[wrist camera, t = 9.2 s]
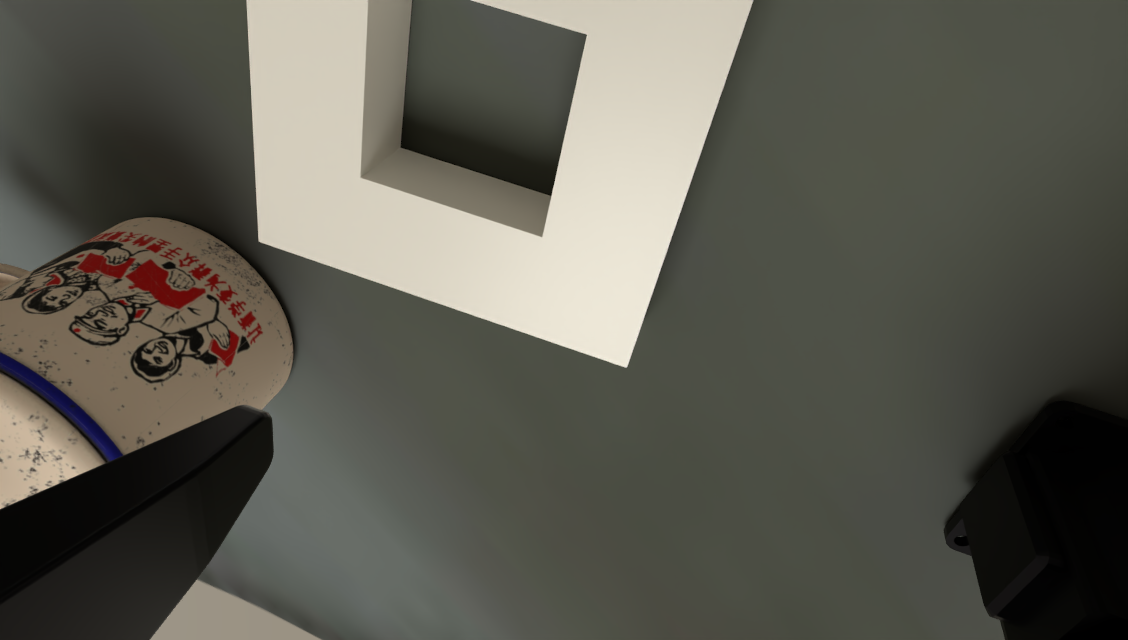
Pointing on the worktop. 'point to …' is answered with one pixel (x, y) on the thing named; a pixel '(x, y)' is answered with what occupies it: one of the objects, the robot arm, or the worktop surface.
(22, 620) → the robot arm
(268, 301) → the teacup with lid
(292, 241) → the panel
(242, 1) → the worktop surface
